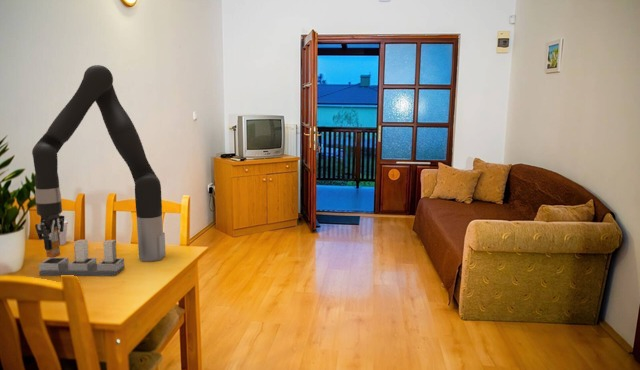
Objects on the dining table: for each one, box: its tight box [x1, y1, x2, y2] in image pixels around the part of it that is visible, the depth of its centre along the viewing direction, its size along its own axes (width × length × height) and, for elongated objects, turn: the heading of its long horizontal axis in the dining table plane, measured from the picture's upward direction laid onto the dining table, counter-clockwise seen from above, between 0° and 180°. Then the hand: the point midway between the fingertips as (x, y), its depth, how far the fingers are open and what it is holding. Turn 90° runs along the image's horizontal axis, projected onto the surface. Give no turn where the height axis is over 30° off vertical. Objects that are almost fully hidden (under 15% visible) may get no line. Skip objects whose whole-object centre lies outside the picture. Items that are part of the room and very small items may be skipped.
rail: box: [38, 239, 125, 277], centre depth 154 cm, size 27×8×12 cm, turn 92°
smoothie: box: [59, 213, 69, 246], centre depth 184 cm, size 6×6×14 cm
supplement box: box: [45, 228, 61, 258], centre depth 153 cm, size 3×3×10 cm
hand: (52, 247), depth 153 cm, fingers closed on supplement box, 4 cm apart
